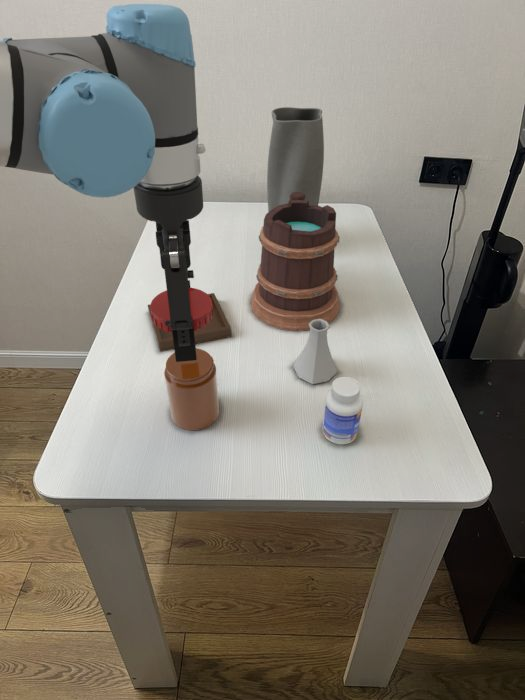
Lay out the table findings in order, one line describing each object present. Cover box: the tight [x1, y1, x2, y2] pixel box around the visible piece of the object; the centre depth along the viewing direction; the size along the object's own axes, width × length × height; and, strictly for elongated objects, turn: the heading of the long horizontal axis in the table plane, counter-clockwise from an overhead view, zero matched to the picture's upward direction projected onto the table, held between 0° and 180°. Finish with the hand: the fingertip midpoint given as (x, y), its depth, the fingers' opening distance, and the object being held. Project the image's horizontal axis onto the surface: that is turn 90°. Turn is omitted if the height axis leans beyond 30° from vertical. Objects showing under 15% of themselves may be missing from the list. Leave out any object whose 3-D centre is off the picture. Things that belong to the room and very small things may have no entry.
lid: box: [149, 287, 213, 333], centre depth 65 cm, size 8×8×2 cm
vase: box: [266, 106, 325, 213], centre depth 111 cm, size 12×12×30 cm
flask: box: [292, 319, 338, 385], centre depth 82 cm, size 7×7×10 cm
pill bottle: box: [321, 376, 364, 445], centre depth 72 cm, size 5×5×10 cm
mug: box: [249, 192, 341, 332], centre depth 96 cm, size 18×23×20 cm
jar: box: [163, 348, 220, 431], centre depth 74 cm, size 8×8×10 cm
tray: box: [147, 292, 232, 352], centre depth 95 cm, size 14×13×2 cm
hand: (185, 338), depth 68 cm, fingers closed on lid, 8 cm apart
